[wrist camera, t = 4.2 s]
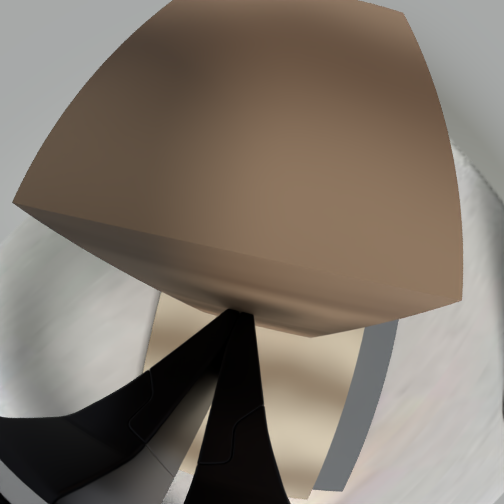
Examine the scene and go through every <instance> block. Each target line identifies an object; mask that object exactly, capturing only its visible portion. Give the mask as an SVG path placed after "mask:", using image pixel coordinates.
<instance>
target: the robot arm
mask: <svg viewBox="0 0 504 504" xmlns="http://www.w3.org/2000/svg"><path fill="white" fill-rule="evenodd" d="M149 370H150V371H149ZM149 370H146V371H145V372H144V373H142V374H141V375H140V376H138V377H137V378H136V379H134V380H133V381H131V382H130V383H128V384H127V385H125V386H124V387H122V388H120V389H119V390H117V391H115V392H113V393H112V394H110V395H108V396H106V397H104V398H103V399H101V400H99V401H97V402H95V403H93V404H91V405H89V406H88V407H86V408H84V409H82V410H80V411H78V412H75V413H73V414H70V415H66V416H60V417H43V418H6V417H1V416H0V504H161V502H162V500H163V499H164V497H165V495H166V493H167V491H168V489H169V487H170V485H171V483H172V482H173V480H174V477H175V476H176V474H177V472H178V470H179V468H180V466H181V464H182V462H183V460H184V458H185V456H186V454H187V452H188V450H189V448H190V446H191V444H192V442H193V440H194V438H195V436H196V434H197V432H198V430H199V428H200V426H201V424H202V422H203V420H204V418H205V416H206V414H207V412H208V410H209V408H210V406H211V408H210V412H209V416H208V420H207V424H206V428H205V432H204V437H203V441H202V445H201V449H200V453H199V457H198V461H197V466H196V469H195V473H194V476H193V480H192V483H191V486H190V488H189V491H188V494H187V496H186V499H185V501H184V504H290V501H289V499H288V497H287V494H286V491H285V488H284V486H283V482H282V479H281V476H280V472H279V469H278V466H277V462H276V459H275V456H274V452H273V449H272V445H271V441H270V436H269V432H268V426H267V420H266V412H265V406H264V396H263V388H262V379H261V371H260V362H259V354H258V345H257V337H256V328H255V320H254V315H253V314H249V313H245V312H241V313H240V311H237V310H233V309H226V310H225V311H224V312H222V313H221V314H220V315H219V316H217V317H216V318H215V319H214V320H212V321H211V322H210V323H208V324H207V325H206V326H205V327H203V328H202V329H201V330H199V331H198V332H197V333H196V334H194V335H193V336H192V337H190V338H189V339H188V340H186V341H185V342H184V343H183V344H181V345H180V346H179V347H177V348H176V349H175V350H173V351H172V352H171V353H169V354H168V355H167V356H165V357H164V358H163V359H161V360H160V361H159V362H157V363H156V364H155V365H153V366H152V367H151V368H150V369H149Z"/></svg>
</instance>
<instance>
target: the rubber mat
mask: <svg viewBox="0 0 504 504" xmlns="http://www.w3.org/2000/svg"><path fill="white" fill-rule="evenodd" d="M398 320H399V319H397V320H393V321H389V322H385V323H381V324H377V325H372V326H368V327H365V328H364V333H363V337H362V342H361V346H360V350H359V354H358V358H357V362H356V366H355V370H354V374H353V377H352V381H351V384H350V388H349V391H348V395H347V398H346V401H345V404H344V408H343V411H342V414H341V417H340V420H339V423H338V426H337V429H336V431H335V434H334V437H333V440H332V442H331V445H330V448H329V450H328V453H327V456H326V458H325V461H324V463H323V466H322V468H321V470H320V473H319V475H318V477H317V480H316V482H315V484H314V486H313V490H325V491H341V492H342V491H343V489H344V487H345V485H346V483H347V481H348V479H349V477H350V474H351V472H352V470H353V468H354V465H355V463H356V461H357V458H358V456H359V454H360V451H361V449H362V446H363V444H364V441H365V439H366V436H367V433H368V430H369V428H370V425H371V422H372V419H373V416H374V413H375V410H376V407H377V404H378V401H379V398H380V394H381V391H382V388H383V384H384V381H385V377H386V373H387V369H388V366H389V362H390V358H391V353H392V349H393V345H394V340H395V335H396V330H397V325H398Z"/></svg>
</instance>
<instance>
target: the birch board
mask: <svg viewBox="0 0 504 504" xmlns="http://www.w3.org/2000/svg"><path fill="white" fill-rule="evenodd" d="M216 317H217V316H215V315H211V314H208V313H204V312H202V311H200V310H198V309H196V308H193V307H191V306H189V305H187V304H185V303H183V302H181V301H179V300H177V299H175V298H173V297H171V296H169V295H167V294H165V293H163V292H161V295H160V299H159V303H158V307H157V311H156V315H155V319H154V323H153V327H152V332H151V336H150V341H149V345H148V350H147V355H146V359H145V364H144V369H143V373H144V372H145V371H146V370H149V369H150V368H151V367H152V366H153V365H155V364H156V363H157V362H159V361H160V360H161V359H163V358H164V357H165V356H167V355H168V354H169V353H171V352H172V351H173V350H175V349H176V348H177V347H179V346H180V345H181V344H183V343H184V342H185V341H186V340H188V339H189V338H190V337H192V336H193V335H194V334H196V333H197V332H198V331H199V330H201V329H202V328H203V327H205V326H206V325H207V324H208V323H210V322H211V321H212V320H214V319H215V318H216ZM255 328H256V337H257V345H258V354H259V362H260V371H261V379H262V388H263V396H264V406H265V412H266V420H267V426H268V432H269V436H270V441H271V445H272V449H273V452H274V456H275V459H276V462H277V466H278V469H279V472H280V476H281V479H282V482H283V486H284V488H285V491H286V494H287V497H290V498H298V499H306V500H307V499H308V497H309V495H310V493H311V491H312V489H313V486H314V484H315V482H316V480H317V477H318V475H319V473H320V470H321V468H322V466H323V463H324V461H325V458H326V456H327V453H328V450H329V448H330V445H331V442H332V440H333V437H334V434H335V431H336V429H337V426H338V423H339V420H340V417H341V414H342V411H343V408H344V404H345V401H346V398H347V395H348V391H349V388H350V384H351V381H352V377H353V374H354V370H355V366H356V362H357V358H358V354H359V350H360V346H361V342H362V337H363V333H364V328H365V327H364V328H359V329H354V330H350V331H345V332H340V333H335V334H330V335H324V336H319V337H313V338H308V337H303V336H298V335H294V334H289V333H285V332H280V331H276V330H271V329H267V328H263V327H258V326H255ZM149 371H150V370H149ZM210 408H211V406H210ZM210 408H209V410H208V412H207V414H206V416H205V418H204V420H203V422H202V424H201V426H200V428H199V430H198V432H197V434H196V436H195V438H194V440H193V442H192V444H191V446H190V448H189V450H188V452H187V454H186V456H185V458H184V460H183V462H182V464H181V466H180V468H179V470H181V471H184V472H187V473H190V474H193V475H194V473H195V469H196V466H197V461H198V457H199V453H200V449H201V445H202V441H203V437H204V432H205V428H206V424H207V420H208V416H209V412H210Z"/></svg>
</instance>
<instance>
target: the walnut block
mask: <svg viewBox="0 0 504 504" xmlns="http://www.w3.org/2000/svg"><path fill="white" fill-rule="evenodd" d="M12 203H14V204H15V205H16V206H18V207H19V208H21V209H22V210H23V211H25V212H26V213H28V214H29V215H31V216H32V217H34V218H35V219H37V220H38V221H40V222H41V223H43V224H44V225H46V226H48V227H49V228H51V229H52V230H54V231H55V232H57V233H58V234H60V235H62V236H63V237H65V238H67V239H68V240H70V241H71V242H73V243H75V244H76V245H78V246H80V247H81V248H83V249H85V250H86V251H88V252H90V253H91V254H93V255H95V256H97V257H98V258H100V259H102V260H104V261H105V262H107V263H109V264H111V265H112V266H114V267H116V268H118V269H120V270H121V271H123V272H125V273H127V274H129V275H131V276H132V277H134V278H136V279H138V280H140V281H142V282H144V283H146V284H147V285H149V286H151V287H153V288H155V289H157V290H159V291H161V292H163V293H165V294H167V295H169V296H171V297H173V298H175V299H177V300H179V301H181V302H183V303H185V304H187V305H189V306H191V307H193V308H196V309H198V310H200V311H202V312H204V313H208V314H211V315H215V316H219V315H220V314H221V313H222V312H224V311H225V310H226V309H233V310H237V311H240V313H241V312H245V313H249V314H253V315H254V320H255V326H258V327H263V328H267V329H271V330H276V331H280V332H285V333H289V334H294V335H298V336H303V337H308V338H313V337H319V336H324V335H330V334H335V333H340V332H345V331H350V330H354V329H359V328H364V327H368V326H372V325H377V324H381V323H385V322H389V321H393V320H397V319H401V318H405V317H408V316H412V315H416V314H419V313H423V312H426V311H430V310H433V309H436V308H440V307H443V306H446V305H449V304H452V303H456V302H459V301H462V288H463V238H462V221H461V209H460V199H459V191H458V184H457V177H456V171H455V165H454V159H453V154H452V149H451V144H450V140H449V135H448V131H447V127H446V123H445V120H444V116H443V112H442V108H441V105H440V102H439V99H438V96H437V92H436V89H435V86H434V83H433V81H432V78H431V75H430V72H429V70H428V67H427V64H426V62H425V59H424V57H423V54H422V52H421V49H420V47H419V45H418V42H417V40H416V38H415V36H414V34H413V32H412V30H411V27H410V25H409V23H408V22H407V19H406V17H405V16H404V14H403V13H402V12H398V11H396V10H392V9H389V8H385V7H382V6H378V5H375V4H371V3H367V2H363V1H358V0H172V1H171V2H170V3H169V4H167V5H166V6H165V7H164V8H162V9H161V10H160V11H158V12H157V13H156V14H155V15H154V16H152V17H151V18H150V19H149V20H148V21H146V22H145V23H144V24H143V25H142V26H141V27H140V28H139V29H137V30H136V31H135V32H134V33H133V34H132V35H131V36H130V37H129V38H128V39H127V40H126V41H125V42H124V43H123V44H122V45H121V46H120V47H119V48H118V49H117V50H116V51H115V52H114V53H113V54H112V55H111V56H110V57H109V58H108V59H107V60H106V61H105V62H104V63H103V64H102V66H101V67H100V68H99V69H98V70H97V71H96V72H95V74H94V75H93V76H92V77H91V78H90V79H89V81H88V82H87V83H86V84H85V85H84V87H83V88H82V89H81V90H80V91H79V93H78V94H77V95H76V97H75V98H74V99H73V101H72V102H71V103H70V105H69V106H68V107H67V109H66V110H65V112H64V113H63V114H62V116H61V117H60V119H59V120H58V121H57V123H56V124H55V126H54V128H53V129H52V130H51V132H50V134H49V135H48V137H47V138H46V140H45V141H44V143H43V145H42V147H41V148H40V150H39V151H38V153H37V155H36V157H35V159H34V160H33V162H32V164H31V166H30V167H29V169H28V171H27V173H26V175H25V177H24V179H23V181H22V183H21V185H20V187H19V189H18V191H17V193H16V195H15V197H14V200H13V202H12Z"/></svg>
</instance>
